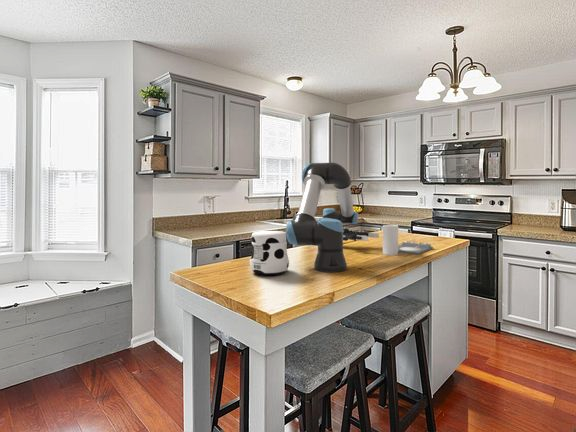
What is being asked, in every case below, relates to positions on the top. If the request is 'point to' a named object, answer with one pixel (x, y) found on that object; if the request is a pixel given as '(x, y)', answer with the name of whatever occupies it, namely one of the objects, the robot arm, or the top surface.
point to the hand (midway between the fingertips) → (373, 237)
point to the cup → (390, 239)
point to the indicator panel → (414, 247)
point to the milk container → (269, 252)
